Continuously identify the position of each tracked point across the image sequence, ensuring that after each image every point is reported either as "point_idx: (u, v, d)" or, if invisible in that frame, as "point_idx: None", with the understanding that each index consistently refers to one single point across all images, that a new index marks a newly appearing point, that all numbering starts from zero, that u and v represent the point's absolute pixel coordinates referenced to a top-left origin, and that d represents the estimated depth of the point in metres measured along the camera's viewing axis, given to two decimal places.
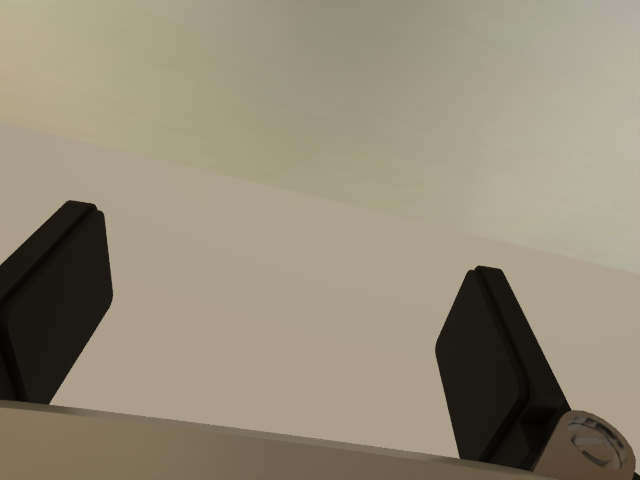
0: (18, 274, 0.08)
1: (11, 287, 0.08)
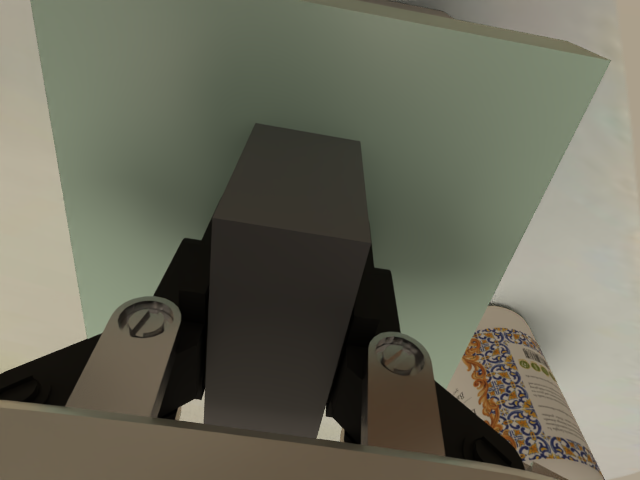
0: None
1: None
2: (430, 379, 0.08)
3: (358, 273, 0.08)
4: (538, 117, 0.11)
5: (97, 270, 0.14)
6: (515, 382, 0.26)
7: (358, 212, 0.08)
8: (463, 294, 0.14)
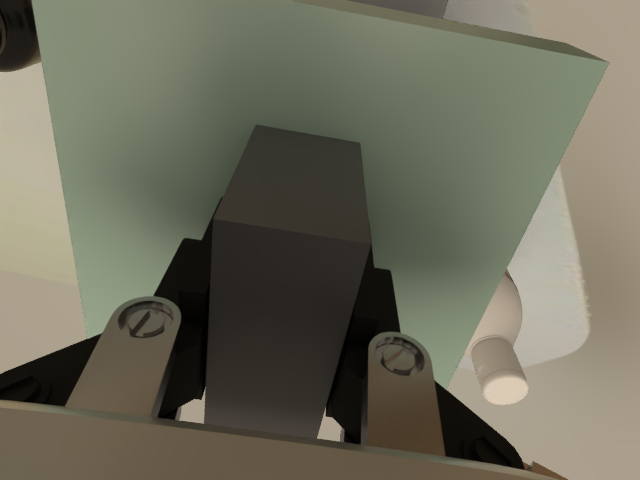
0: None
1: None
2: (430, 379, 0.08)
3: (358, 274, 0.08)
4: (537, 118, 0.11)
5: (98, 271, 0.14)
6: None
7: (358, 213, 0.08)
8: (463, 295, 0.14)
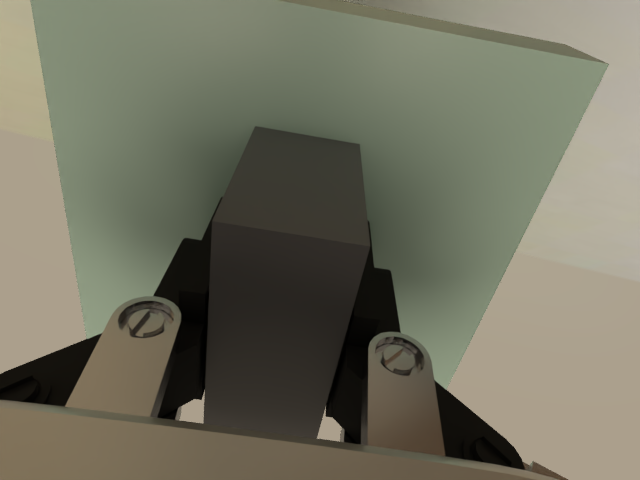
0: None
1: None
2: (430, 379, 0.08)
3: (357, 276, 0.08)
4: (537, 120, 0.11)
5: (97, 272, 0.14)
6: None
7: (357, 215, 0.08)
8: (462, 296, 0.14)
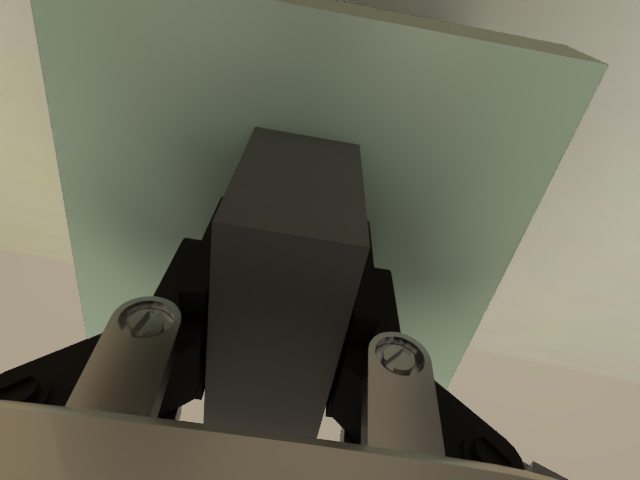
0: None
1: None
2: (430, 379, 0.08)
3: (357, 277, 0.08)
4: (536, 121, 0.11)
5: (97, 273, 0.14)
6: None
7: (357, 216, 0.08)
8: (462, 297, 0.14)
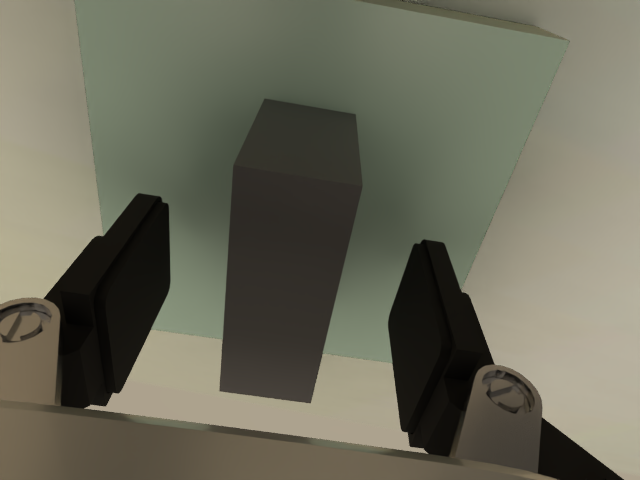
0: (109, 259, 0.09)
1: (106, 270, 0.09)
2: (536, 423, 0.08)
3: (352, 213, 0.09)
4: (509, 91, 0.12)
5: None
6: None
7: (352, 165, 0.10)
8: (449, 255, 0.15)
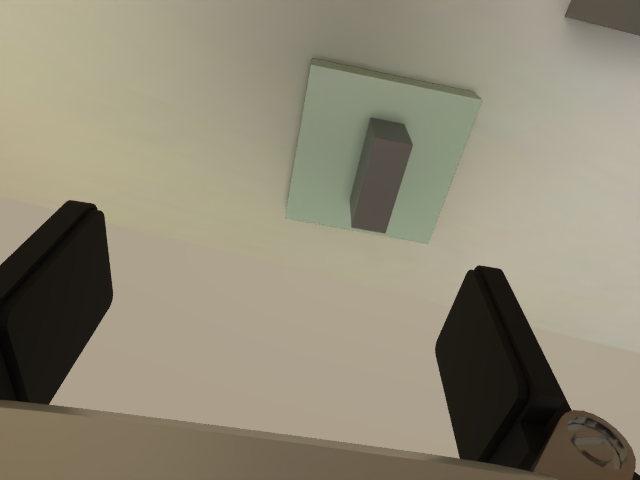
0: (18, 274, 0.08)
1: (11, 287, 0.08)
2: None
3: (409, 154, 0.30)
4: (462, 117, 0.33)
5: (300, 172, 0.36)
6: None
7: (408, 139, 0.31)
8: (439, 184, 0.36)
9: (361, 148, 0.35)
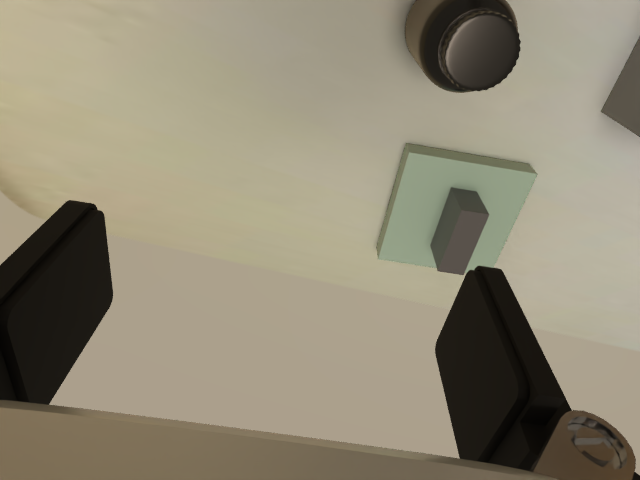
0: (18, 274, 0.08)
1: (11, 287, 0.08)
2: None
3: (486, 220, 0.41)
4: (521, 185, 0.44)
5: (394, 226, 0.47)
6: None
7: (484, 209, 0.41)
8: (500, 233, 0.47)
9: (442, 208, 0.46)
